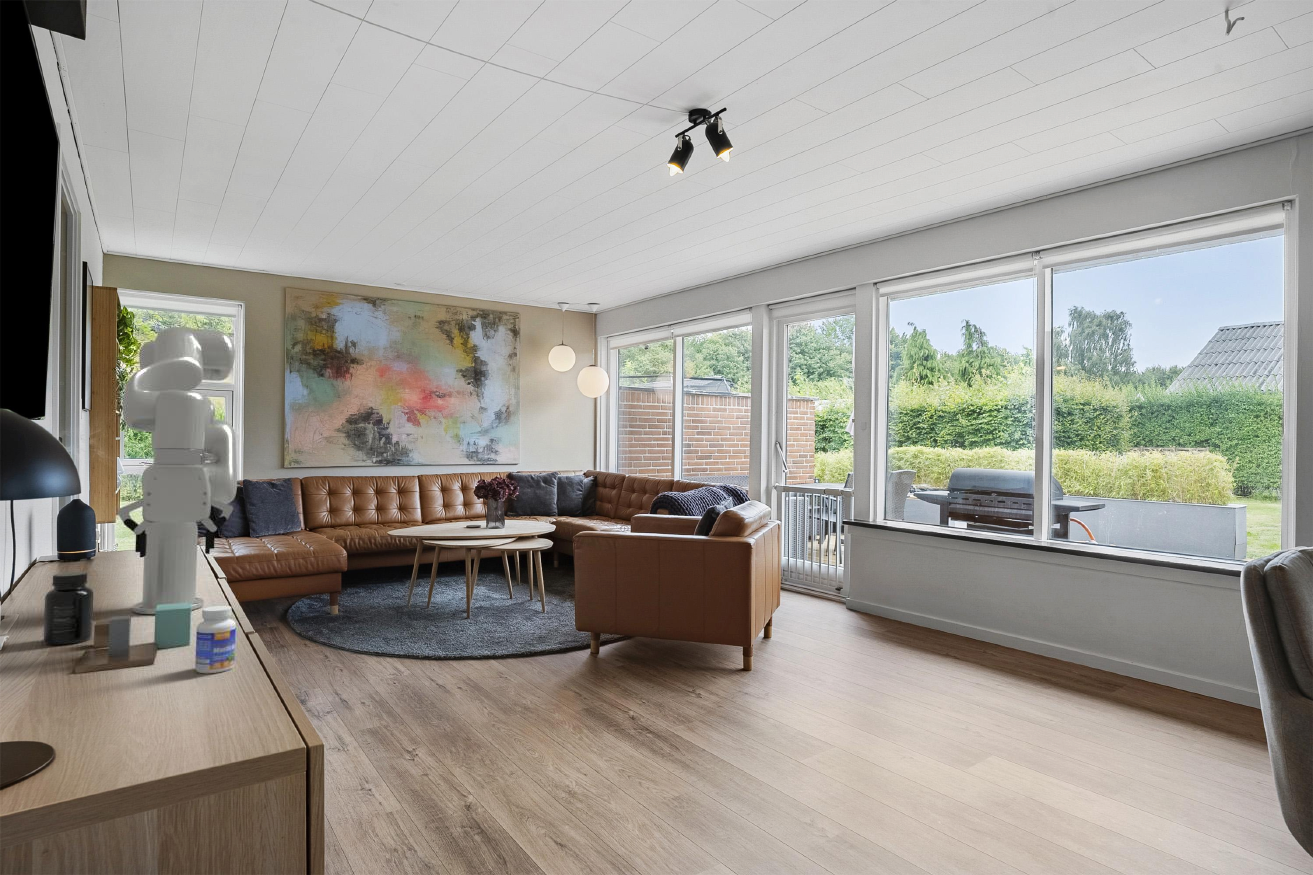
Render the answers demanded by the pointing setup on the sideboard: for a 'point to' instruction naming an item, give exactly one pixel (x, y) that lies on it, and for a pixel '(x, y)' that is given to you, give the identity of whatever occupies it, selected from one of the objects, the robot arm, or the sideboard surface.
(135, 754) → the sideboard surface
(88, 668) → the brown square base
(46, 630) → the supplement bottle
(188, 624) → the teal rectangular block
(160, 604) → the robot arm
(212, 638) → the pill bottle
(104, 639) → the tan cardboard cube
